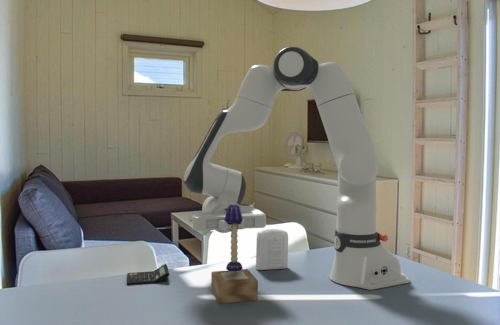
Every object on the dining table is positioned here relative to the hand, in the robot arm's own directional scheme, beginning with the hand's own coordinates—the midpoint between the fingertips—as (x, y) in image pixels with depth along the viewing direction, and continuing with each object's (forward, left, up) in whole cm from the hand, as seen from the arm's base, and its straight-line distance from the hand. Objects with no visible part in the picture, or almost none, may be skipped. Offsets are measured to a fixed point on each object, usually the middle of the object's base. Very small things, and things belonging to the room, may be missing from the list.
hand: (235, 226), depth 115 cm
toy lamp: (0, -1, -12) cm, 12 cm away
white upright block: (-17, -21, -18) cm, 33 cm away
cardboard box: (0, -1, -18) cm, 18 cm away
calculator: (+21, -20, -19) cm, 34 cm away
